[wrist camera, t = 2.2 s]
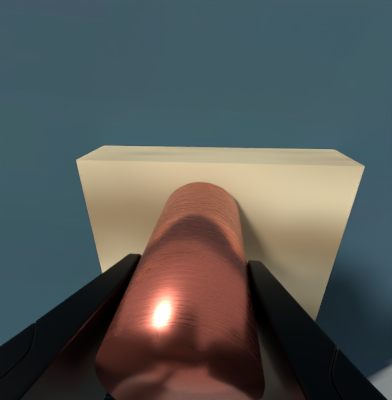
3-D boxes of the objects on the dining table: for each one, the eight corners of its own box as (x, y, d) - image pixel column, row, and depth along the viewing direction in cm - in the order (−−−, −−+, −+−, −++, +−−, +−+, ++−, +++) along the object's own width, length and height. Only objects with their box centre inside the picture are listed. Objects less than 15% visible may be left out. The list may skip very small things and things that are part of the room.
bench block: (276, 379, 22) (294, 472, 17) (142, 366, 23) (119, 450, 18) (334, 149, 13) (416, 195, 7) (103, 145, 14) (30, 183, 9)
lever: (227, 405, 19) (232, 572, 12) (173, 399, 19) (149, 559, 13) (250, 181, 10) (301, 335, 4) (153, 179, 11) (57, 316, 4)
